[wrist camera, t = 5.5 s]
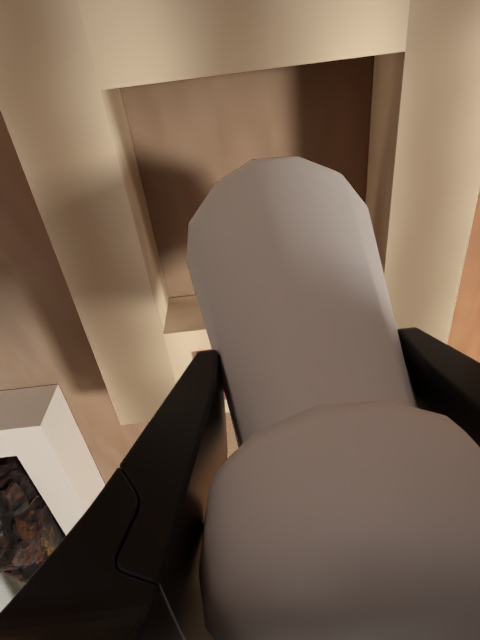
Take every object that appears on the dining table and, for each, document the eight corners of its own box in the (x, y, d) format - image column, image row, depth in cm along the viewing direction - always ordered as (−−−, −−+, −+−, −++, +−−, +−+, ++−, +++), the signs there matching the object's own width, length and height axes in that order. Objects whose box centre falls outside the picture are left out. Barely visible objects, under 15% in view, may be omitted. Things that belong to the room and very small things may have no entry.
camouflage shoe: (100, 572, 36) (83, 653, 32) (18, 575, 36) (-12, 657, 31) (55, 430, 26) (20, 517, 22) (-60, 432, 26) (-119, 521, 21)
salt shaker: (201, 298, 17) (168, 754, 6) (178, 147, 14) (34, 562, 3) (348, 285, 17) (561, 727, 6) (360, 130, 14) (830, 502, 3)
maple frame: (497, -176, 13) (571, -228, 10) (414, 351, 24) (439, 391, 21) (-36, -104, 13) (-98, -136, 10) (129, 384, 24) (120, 427, 22)
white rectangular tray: (57, 384, 24) (40, 425, 22) (150, 582, 37) (146, 622, 35) (-157, 409, 24) (-199, 453, 22) (10, 598, 37) (-4, 639, 35)
